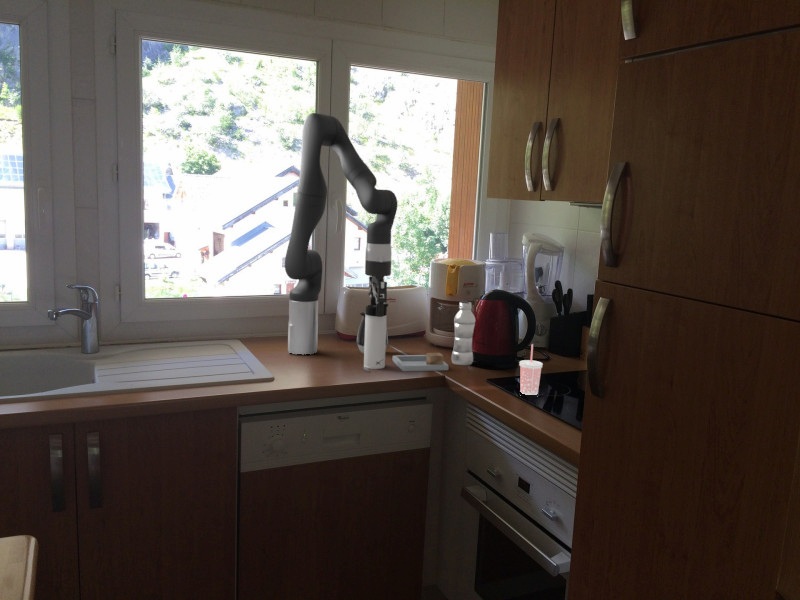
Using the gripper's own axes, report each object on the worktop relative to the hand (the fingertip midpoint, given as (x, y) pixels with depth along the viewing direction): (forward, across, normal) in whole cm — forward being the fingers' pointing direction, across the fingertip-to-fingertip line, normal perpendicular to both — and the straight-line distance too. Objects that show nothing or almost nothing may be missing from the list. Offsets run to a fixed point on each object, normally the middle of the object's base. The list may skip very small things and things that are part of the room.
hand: (376, 314), depth 197 cm
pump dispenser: (+17, -20, +3) cm, 26 cm away
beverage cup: (+18, +30, +36) cm, 50 cm away
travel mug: (+17, 0, 0) cm, 17 cm away
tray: (+17, -1, +14) cm, 22 cm away
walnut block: (+16, +2, +18) cm, 24 cm away
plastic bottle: (+17, -2, +28) cm, 33 cm away
